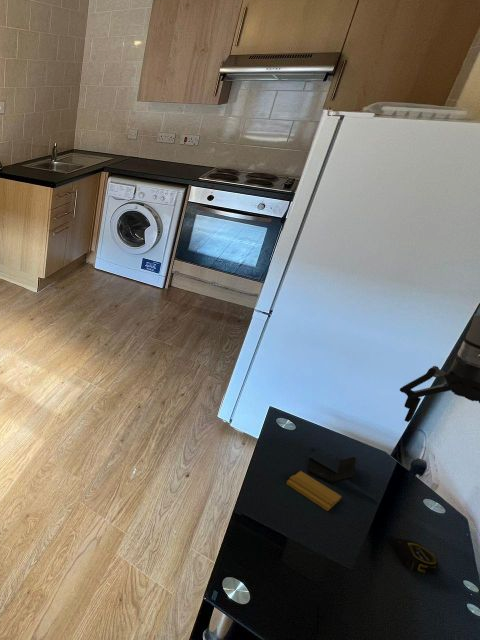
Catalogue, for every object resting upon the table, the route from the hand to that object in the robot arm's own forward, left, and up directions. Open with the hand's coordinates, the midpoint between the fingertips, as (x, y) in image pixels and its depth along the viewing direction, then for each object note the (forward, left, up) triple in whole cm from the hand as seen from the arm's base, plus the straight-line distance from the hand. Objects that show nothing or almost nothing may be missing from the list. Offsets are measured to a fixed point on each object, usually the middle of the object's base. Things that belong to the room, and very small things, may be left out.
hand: (445, 436), depth 101 cm
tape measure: (-5, +17, -27) cm, 32 cm away
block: (+16, +14, -27) cm, 34 cm away
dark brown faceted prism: (+17, +1, -27) cm, 32 cm away
